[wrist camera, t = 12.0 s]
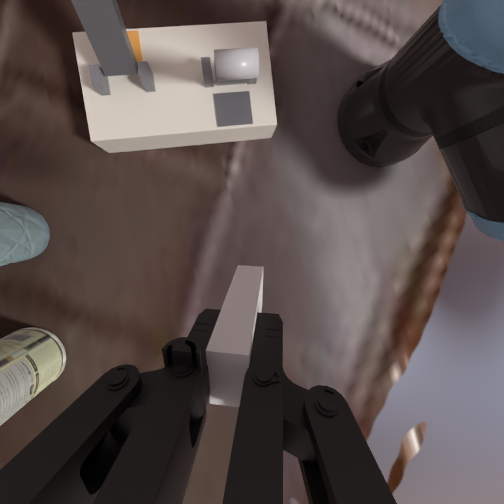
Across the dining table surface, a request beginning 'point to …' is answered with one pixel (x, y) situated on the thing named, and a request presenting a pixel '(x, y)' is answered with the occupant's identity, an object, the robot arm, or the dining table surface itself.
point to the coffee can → (27, 367)
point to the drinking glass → (21, 233)
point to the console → (177, 90)
